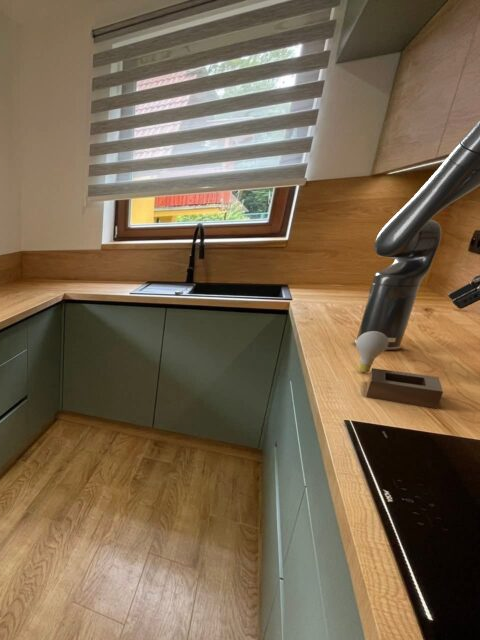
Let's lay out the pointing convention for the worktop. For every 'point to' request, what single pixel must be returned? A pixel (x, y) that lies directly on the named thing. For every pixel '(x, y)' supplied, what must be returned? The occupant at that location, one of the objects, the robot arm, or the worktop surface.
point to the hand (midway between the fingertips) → (453, 302)
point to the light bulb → (370, 348)
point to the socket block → (404, 387)
